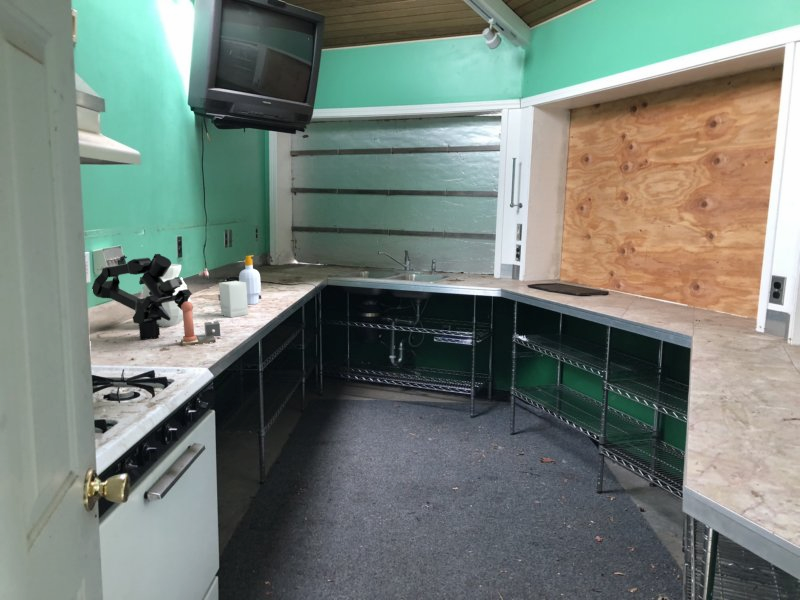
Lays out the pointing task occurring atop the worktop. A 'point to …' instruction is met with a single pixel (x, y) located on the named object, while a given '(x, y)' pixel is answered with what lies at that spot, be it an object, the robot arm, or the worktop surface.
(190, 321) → the pawn
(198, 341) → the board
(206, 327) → the die
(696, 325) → the worktop surface
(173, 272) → the pitcher
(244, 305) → the supplement box
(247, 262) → the soap bottle
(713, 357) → the worktop surface
